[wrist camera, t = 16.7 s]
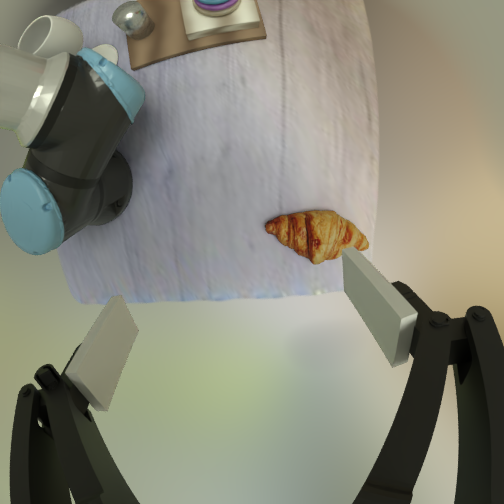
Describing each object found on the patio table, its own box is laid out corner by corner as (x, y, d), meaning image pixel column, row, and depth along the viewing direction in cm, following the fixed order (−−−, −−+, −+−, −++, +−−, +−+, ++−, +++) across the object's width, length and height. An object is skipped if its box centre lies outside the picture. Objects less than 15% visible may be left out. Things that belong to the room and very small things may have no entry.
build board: (133, 70, 37) (124, 65, 33) (126, 8, 31) (118, 0, 27) (265, 38, 36) (268, 29, 32) (248, -22, 30) (249, -34, 26)
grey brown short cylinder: (130, 43, 34) (113, 29, 26) (127, 24, 32) (111, 8, 24) (156, 34, 33) (142, 17, 26) (153, 14, 31) (140, -4, 24)
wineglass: (112, 83, 37) (46, 59, 18) (76, 85, 36) (5, 71, 17) (123, 42, 34) (67, 2, 15) (86, 46, 33) (24, 17, 14)
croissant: (361, 223, 54) (382, 215, 46) (358, 271, 53) (380, 269, 45) (264, 205, 51) (273, 193, 44) (258, 258, 50) (266, 254, 43)
